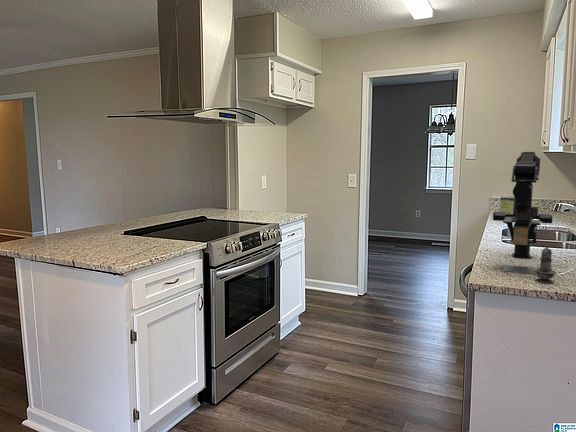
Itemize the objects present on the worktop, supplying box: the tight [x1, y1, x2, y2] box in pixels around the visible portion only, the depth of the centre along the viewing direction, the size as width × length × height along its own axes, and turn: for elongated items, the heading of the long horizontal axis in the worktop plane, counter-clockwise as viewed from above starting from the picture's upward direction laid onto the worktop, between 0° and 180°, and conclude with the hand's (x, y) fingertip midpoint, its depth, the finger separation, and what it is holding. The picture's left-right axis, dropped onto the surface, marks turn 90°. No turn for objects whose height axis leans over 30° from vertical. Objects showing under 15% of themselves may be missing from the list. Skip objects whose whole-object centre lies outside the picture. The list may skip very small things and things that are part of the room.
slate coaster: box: [501, 264, 536, 275], centre depth 163 cm, size 10×10×1 cm
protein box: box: [499, 196, 517, 223], centre depth 292 cm, size 10×16×16 cm
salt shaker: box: [534, 245, 556, 285], centre depth 146 cm, size 6×6×12 cm
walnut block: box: [511, 225, 528, 245], centre depth 161 cm, size 4×4×6 cm
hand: (519, 240), depth 161 cm, fingers closed on walnut block, 4 cm apart
